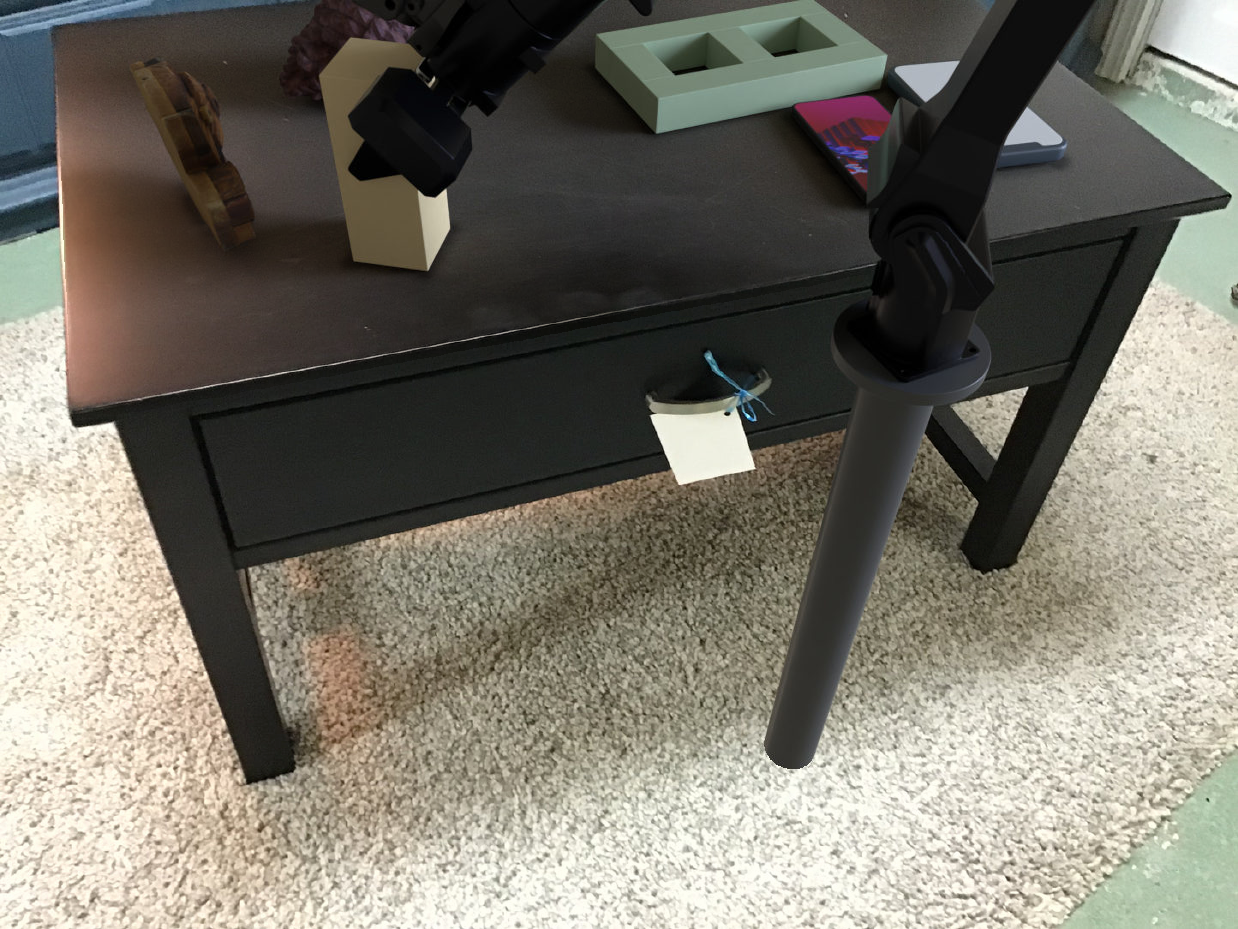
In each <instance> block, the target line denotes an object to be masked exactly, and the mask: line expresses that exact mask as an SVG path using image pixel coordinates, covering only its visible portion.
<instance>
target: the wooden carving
mask: <svg viewBox="0 0 1238 929" xmlns="http://www.w3.org/2000/svg"><path fill="white" fill-rule="evenodd" d="M129 69H130V71H131V72H130V73H131V74H132V77H133V78H134V81H135V83H136V85H137V88H138V90H139V91H140V95H141V96H142V98H143V100H144V104H145V109H147V112H148V115H149V116H150V118H151V119H152V121H153V123H154V124H155V126H156V129H157V131H158V133H159V135H160V138H161V140H162V143H163V145H164V147H165V149H166V152H167V153H168V155H169V157H170V159H171V161H172V164H173V165H174V167H175V169H176V171H177V173H178V175H179V177H180V179H181V181H182V183H183V185H184V186H185V189H186V190H187V192H188V194H189V196H190V198H191V201H192V202H193V203H194V205H195V207H196V209H197V210H198V212H199V214H200V216H201V218H202V219H203V221H204V222H205V223H206V225H208V227H209V229H210V230H211V232H212V234H213V236H214V238H215V239H216V241H217V243H218V244H219V246H220V247H221V249H222V250H223V251H228V250H230V249H233V248H235V247H237V246H240V244H241V243H243V242H246V241H248V240H252V239H255V238H256V234H255V231H254V228H253V225H252V223H253V222H254V221H255V211H254V210H255V209H254V207H253V203H252V201H251V199H250V197H249V194H248V192H247V190H246V186H245V183H244V180H243V179H242V177H241V174H240V172H239V170H238V169H237V167H236V166H235V165H234V163H233V162H231V161H230V160H227V158H226V157H225V154H224V153H223V148H224V138H225V134H224V130H223V126H222V123H221V121H220V117H221V107H220V104H219V102H218V99H217V97H216V95H215V93H214V92H213V90H212V89H211V88H210V87H209V85H207V84H206V83H202V84H201V83H200V82H199V81H198V80H196V79H195V78H194V77H193V76H192V75H190V74H189V73H188V72H187V71H185V70H183V71H180V72H178V71H177V70H176V69H175V68H174V67H173V66H172V64H170V63H169V62H167V61H166V60H165V59H164V58H163V57H162V56H156V57H153V58H151V59H149V60H147V61H144V62H142V61H136V62H131V63H130V66H129Z"/></svg>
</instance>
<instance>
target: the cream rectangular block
mask: <svg viewBox="0 0 1238 929" xmlns="http://www.w3.org/2000/svg"><path fill="white" fill-rule="evenodd" d="M423 58H424V57H421V56H420V55H419V54H418V53H417V52H416V51H415V50H414V49H413V48H412V47H411V46H410V45H409V44H404V43H395V42H386V41H377V40H369V39H360V38H350V39H349V40H348V41H347V42H346V44H345V45H344V46H343V47H342V48H341V50H340V51H339V52H338V53H337V54H336V56H335V57H334V58H333V59H332V60H331V62H330V63H329V64H328V65H327V66H326V68H325V69H324V70H323V71H322V72H321V74H320V75H319V78H320V84H321V89H322V94H323V98H322V99H323V105H324V110H325V115H326V120H327V121H326V122H327V127H328V131H329V137H330V142H331V147H332V153H333V159H334V163H335V169H336V170H335V171H336V175H337V179H338V185H339V191H340V197H341V201H342V206H343V211H344V217H345V224H346V229H347V233H348V239H349V245H350V250H351V255H352V260H353V262H357V263H364V264H372V265H379V266H385V267H386V266H387V267H393V268H401V269H402V268H403V269H408V270H415V271H416V270H417V271H423V272H429V270H430V268H431V266H432V265H433V262H434V260H435V259H436V256H437V255H438V253H439V251H440V250H441V247H442V245H443V243H444V241H445V240H446V238H447V236H448V233H449V232H450V230H451V222H450V212H449V203H448V192H447V188H446V189H445V190H444V191H443V192H442V193H441V194H439V195H438V196H437V197H436V198H432V197H426V196H424V195H423V194H422V193H421V192H419V191H418V190H417V189H416V188H415V187H414V186H413V185H412V184H411V183H410V182H409V181H408V180H407V179H406V178H404V177H403V176H402V175H396V176H390V177H384V178H379V179H373V180H367V181H359V180H357V179H356V178H355V177H354V176H353V175H352V174H351V173H350V172H349V171H348V167H349V165H350V163H351V162H352V160H353V158H354V157H355V155H356V153H357V151H358V150H359V148H360V146H361V145H362V143H363V141H364V139H363V138H362V137H360V136H359V135H358V134H357V133H356V132H355V131H354V130H353V129H352V127H351V124H350V122H349V119H348V114H349V113H350V112H351V110H352V109H353V108H354V106H355V105H356V103H357V102H358V101H359V99H360V98H361V97H362V95H363V94H364V93H365V92H366V91H367V89H368V88H369V87H370V86H371V85H372V83H373V82H374V81H375V79H376V78H377V77H378V75H379V76H380V75H381V74H382V73H383V72H384V71H385V70H386V69H387V68H388V67H396V68H405V69H412V70H413V71H414V72H415V73H416V69H417V67H418V66H419V64H420V63H421V61H422V60H423ZM416 74H417V73H416ZM434 81H435V76H434V78H433V79H432V81H431V82H430V83H429V84H427V83H426V82H425V83H426V84H427V85H428V86H429V87H431V85H432V84H433V82H434Z"/></svg>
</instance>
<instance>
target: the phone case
mask: <svg viewBox="0 0 1238 929" xmlns="http://www.w3.org/2000/svg"><path fill="white" fill-rule="evenodd" d="M960 60H961V59H951V60H939V61H929V62H920V63H919V62H918V63H909V64H908V63H907V64H898V65H893V66H892V67H890V69H888V70H889V71H888V75H887V79H886V83H887V86H888V87H889V88H890V89H891V90H892V91H893V92H894V93H895V95H897V96H898V97H899V98H901V97H902V98H904V99H906V100H908V101H909V102H911V103H912V104H914V105H915V106H917V107H920V106H922V105H923V104H924V103H926V102H927V101H928V100H929V99H931V98H932V97H933V96H934V95H936V94H937V93H938V92H939V91H940V90H941V89H942V88H943V87H944V86H945V84H946V83H947V82H948V80H949V79H950V77H951V75H952V73H953V72H954V70H955V68H956V67H957V65H958V63H959V62H960ZM1067 147H1068V141H1067V139H1066V138H1065V137H1064V136H1063V135H1062V134H1061V133H1059V132H1058V130H1056V129H1055V128H1054V127H1052V126H1051V125H1050V124H1049V123H1048V122H1047V121H1046V120H1045V119H1043V118H1042V117H1041V116H1040V115H1039V114H1038V113H1036V112H1035V110H1033V109H1032V108H1031V107H1030V106H1029V105H1028V106H1027V108H1026V109H1025V111H1024V112H1023V114H1022V115H1021V117H1020V118H1019V120H1018V121H1017V123H1016V124H1015V126H1014V127H1013V129H1012V130H1011V132H1010V133H1009V135H1008V137H1007V139H1006V141H1005V144H1004V146H1003V150H1002V153H1001V156H1000V160H999V163H998V166H997V169H999V168H1006V167H1007V168H1008V167H1017V166H1022V165H1024V166H1025V165H1033V164H1041V163H1050V162H1056V161H1059V160H1061V159H1063V157H1064V155H1065V152H1066V149H1067Z"/></svg>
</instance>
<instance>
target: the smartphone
mask: <svg viewBox="0 0 1238 929" xmlns="http://www.w3.org/2000/svg"><path fill="white" fill-rule="evenodd" d="M790 115H791V117H792V118H793V120H795V122H796V123H797V124H798V125H799V126H800V128H801V129H802V130H803V131H804V132H805V133H806V135H807V136H808V137H809V139H810V140H811V141H812V143H814V144H815V145H816V147H817V148H818V149H819V150H820V152H821V153H822V154H823V155H824V156H825V157H826V159H827V160H828V161H829V162H830V163H831V164H832V166H833V167H834V168H835V169H836V170H837V172H838V173H839V174H840V175H841V176H842V178H843V179H844V181H845V182H847V184H848V185H849V186H850V187H851V188H852V190H853V191H854V192H855V193H856V195H858V197H859V198H860V199H861V200H862V201H863V202H864V203H867V165H868V148H869V147H870V146H872V145H873V144H874V143H875V142H876V141H878V140H879V139H880V137H881V136H882V134H883V133H884V132H885V130H886V128H887V126H888V124H889V121H890V119H891V116H892V113H891V111H890V110H888V109H887V107H885V105H884V104H882V102H881V101H880V100H879V99H878V98H876V97H875V96H874V95H869V94H860V95H853V96H851V95H850V96H841V97H836V98H831V99H825V100H817V101H808V102H799V103H796V104H794V105H793V106H792V107H791V110H790Z"/></svg>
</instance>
